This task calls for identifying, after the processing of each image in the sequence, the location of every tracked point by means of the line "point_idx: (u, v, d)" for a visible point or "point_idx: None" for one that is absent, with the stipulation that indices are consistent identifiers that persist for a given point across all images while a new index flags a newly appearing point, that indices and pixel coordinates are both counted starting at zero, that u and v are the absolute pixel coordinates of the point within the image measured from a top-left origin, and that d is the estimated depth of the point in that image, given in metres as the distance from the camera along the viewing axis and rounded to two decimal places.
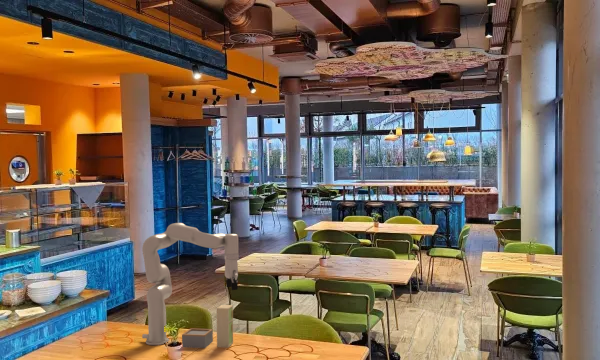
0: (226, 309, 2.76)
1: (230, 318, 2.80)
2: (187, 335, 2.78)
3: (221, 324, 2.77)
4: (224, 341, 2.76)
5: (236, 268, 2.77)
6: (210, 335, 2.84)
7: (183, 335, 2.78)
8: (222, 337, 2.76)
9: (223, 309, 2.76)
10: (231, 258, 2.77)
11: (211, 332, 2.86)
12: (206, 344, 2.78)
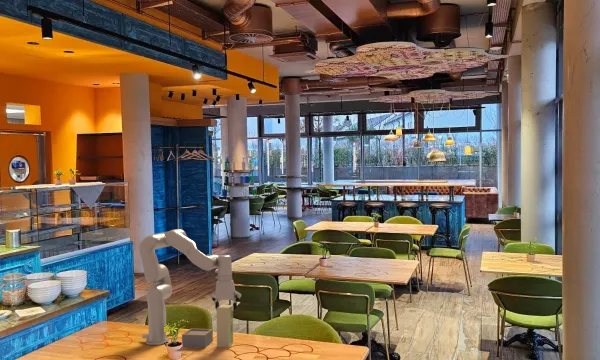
0: (226, 309, 2.76)
1: (230, 318, 2.80)
2: (187, 335, 2.78)
3: (221, 324, 2.77)
4: (224, 341, 2.76)
5: (234, 288, 2.81)
6: (210, 335, 2.84)
7: (183, 335, 2.78)
8: (222, 337, 2.76)
9: (223, 309, 2.76)
10: (230, 279, 2.79)
11: (211, 332, 2.86)
12: (206, 344, 2.78)
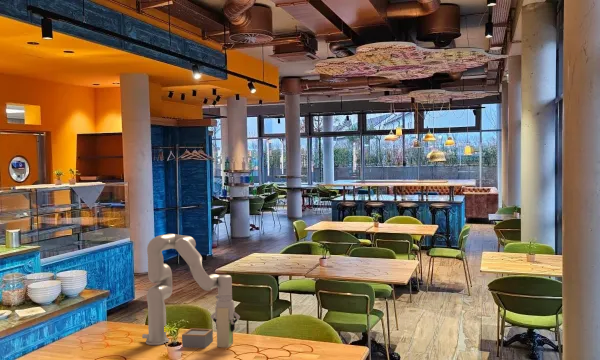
0: (226, 309, 2.76)
1: None
2: (187, 335, 2.78)
3: (221, 324, 2.77)
4: (224, 341, 2.76)
5: (234, 308, 2.81)
6: (210, 335, 2.84)
7: (183, 335, 2.78)
8: (222, 337, 2.76)
9: (223, 309, 2.76)
10: (230, 299, 2.79)
11: (211, 332, 2.86)
12: (206, 344, 2.78)
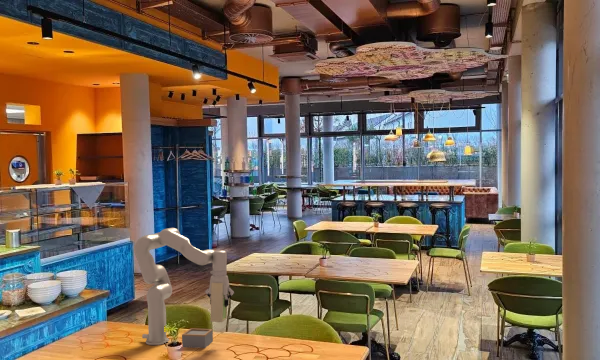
0: (220, 284, 2.77)
1: None
2: (187, 335, 2.78)
3: (215, 299, 2.77)
4: (218, 316, 2.77)
5: (228, 284, 2.82)
6: (210, 335, 2.84)
7: (183, 335, 2.78)
8: (216, 311, 2.77)
9: (217, 284, 2.77)
10: (225, 274, 2.80)
11: (211, 332, 2.86)
12: (206, 344, 2.78)
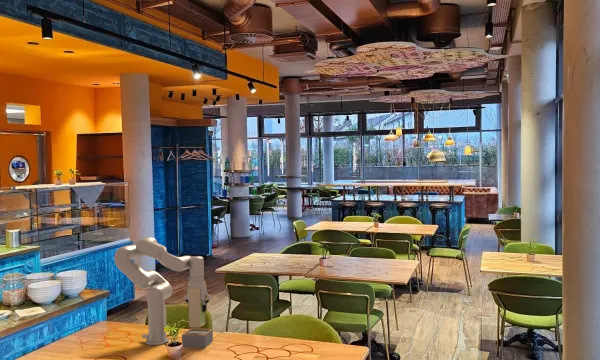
0: (198, 289, 2.79)
1: None
2: (187, 335, 2.78)
3: (193, 305, 2.80)
4: (196, 321, 2.79)
5: (206, 289, 2.84)
6: (210, 335, 2.84)
7: (183, 335, 2.78)
8: (194, 317, 2.79)
9: (195, 289, 2.79)
10: (202, 280, 2.82)
11: (211, 332, 2.86)
12: (206, 344, 2.78)
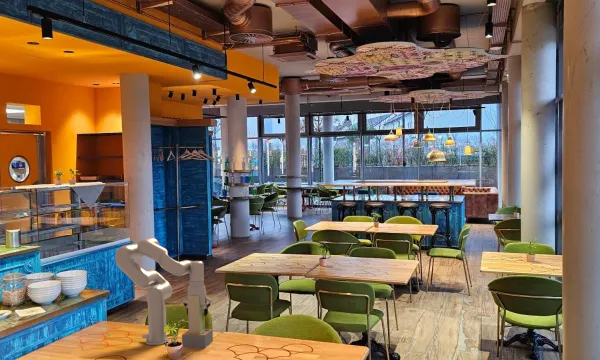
0: (197, 297, 2.79)
1: (201, 306, 2.83)
2: (187, 335, 2.78)
3: (192, 312, 2.79)
4: (196, 329, 2.79)
5: (206, 294, 2.84)
6: (210, 335, 2.84)
7: (183, 335, 2.78)
8: (194, 324, 2.79)
9: (194, 297, 2.79)
10: (202, 285, 2.82)
11: (211, 332, 2.86)
12: (206, 344, 2.78)
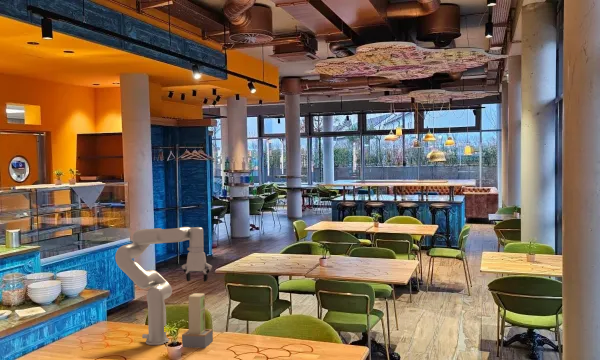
0: (198, 297, 2.79)
1: (202, 306, 2.83)
2: (187, 335, 2.78)
3: (193, 312, 2.79)
4: (196, 329, 2.79)
5: (205, 260, 2.85)
6: (210, 335, 2.84)
7: (183, 335, 2.78)
8: (194, 325, 2.79)
9: (195, 297, 2.79)
10: (201, 251, 2.83)
11: (211, 332, 2.86)
12: (206, 344, 2.78)
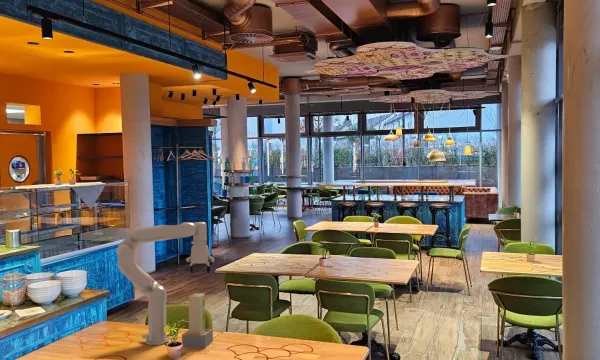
0: (198, 297, 2.79)
1: (202, 306, 2.83)
2: (187, 335, 2.78)
3: (193, 312, 2.79)
4: (196, 329, 2.79)
5: (208, 253, 3.00)
6: (210, 335, 2.84)
7: (183, 335, 2.78)
8: (194, 325, 2.79)
9: (195, 297, 2.79)
10: (205, 244, 2.99)
11: (211, 332, 2.86)
12: (206, 344, 2.78)
